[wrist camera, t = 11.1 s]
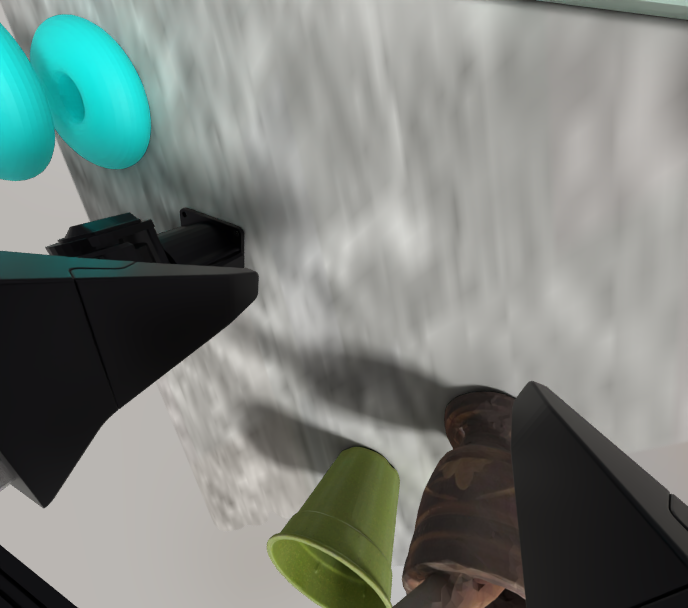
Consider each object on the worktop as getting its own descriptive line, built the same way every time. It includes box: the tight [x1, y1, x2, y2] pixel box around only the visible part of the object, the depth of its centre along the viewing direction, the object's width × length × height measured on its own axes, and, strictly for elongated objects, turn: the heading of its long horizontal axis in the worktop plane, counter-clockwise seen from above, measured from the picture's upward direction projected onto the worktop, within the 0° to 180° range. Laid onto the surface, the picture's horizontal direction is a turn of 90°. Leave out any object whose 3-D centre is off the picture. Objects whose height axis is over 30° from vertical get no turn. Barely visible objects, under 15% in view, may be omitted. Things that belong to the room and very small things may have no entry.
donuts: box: [0, 14, 151, 181], centre depth 22 cm, size 10×10×10 cm
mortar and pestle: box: [392, 392, 526, 608], centre depth 18 cm, size 12×9×20 cm
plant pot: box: [267, 447, 400, 608], centre depth 31 cm, size 12×12×11 cm
